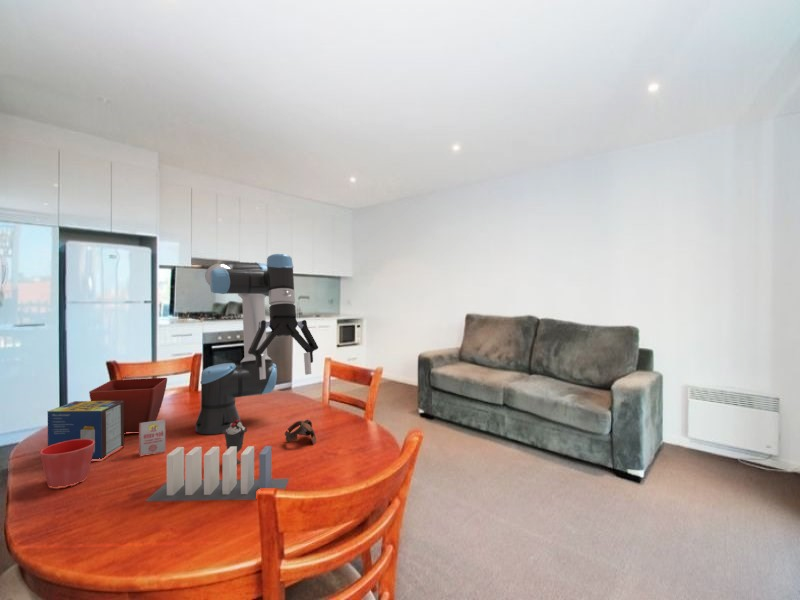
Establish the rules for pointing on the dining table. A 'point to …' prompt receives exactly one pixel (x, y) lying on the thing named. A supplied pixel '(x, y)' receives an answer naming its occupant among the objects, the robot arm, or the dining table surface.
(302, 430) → the brown ring with handle
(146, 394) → the plant pot
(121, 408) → the protein box
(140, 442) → the tea bag
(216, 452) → the domino
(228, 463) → the domino
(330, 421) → the dining table surface
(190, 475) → the domino
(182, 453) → the domino
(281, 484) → the runner mat
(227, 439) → the sundae
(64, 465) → the flower pot
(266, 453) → the domino
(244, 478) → the domino
